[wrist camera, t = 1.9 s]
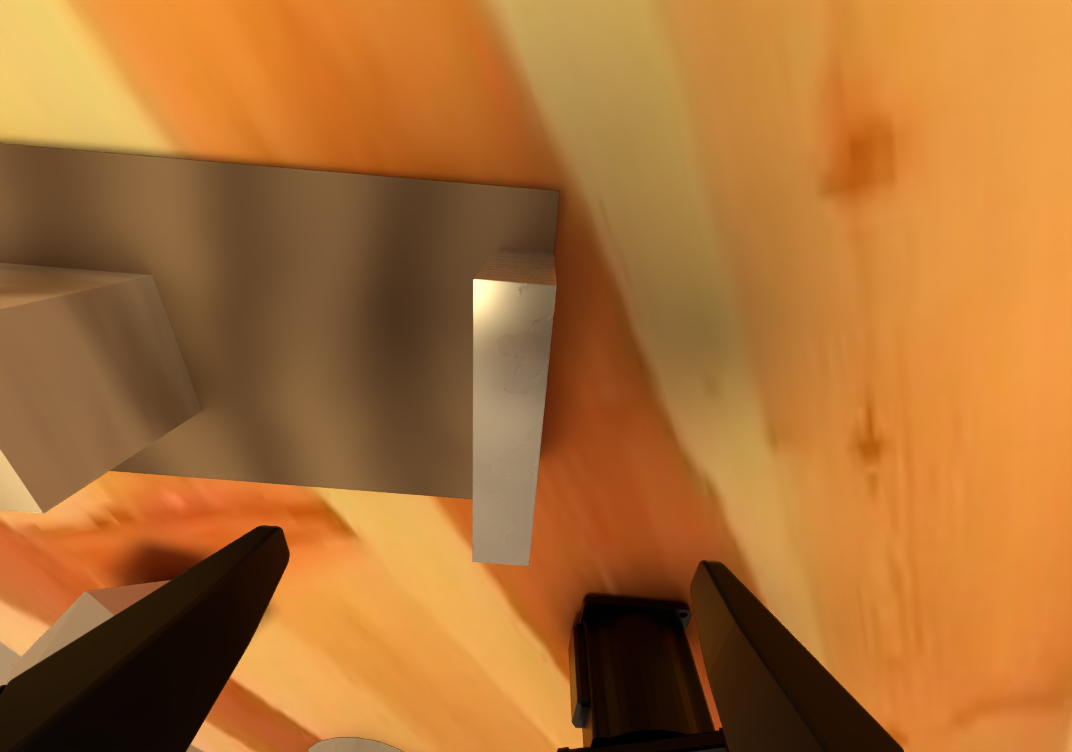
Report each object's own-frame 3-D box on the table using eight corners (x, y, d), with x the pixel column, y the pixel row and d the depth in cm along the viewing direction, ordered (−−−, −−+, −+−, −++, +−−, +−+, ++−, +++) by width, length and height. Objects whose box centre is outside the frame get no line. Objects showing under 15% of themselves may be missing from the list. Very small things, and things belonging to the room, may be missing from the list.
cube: (152, 275, 14) (-83, 327, 9) (201, 410, 17) (43, 513, 12) (-8, 262, 14) (-340, 306, 9) (66, 400, 17) (-155, 498, 12)
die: (119, 518, 23) (-107, 719, 17) (185, 591, 18) (-87, 883, 13) (233, 563, 29) (90, 721, 24) (301, 625, 25) (147, 834, 19)
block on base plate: (559, 190, 14) (565, 194, 8) (531, 492, 20) (525, 601, 15) (-129, 132, 13) (-561, 99, 8) (62, 455, 20) (-114, 552, 14)
